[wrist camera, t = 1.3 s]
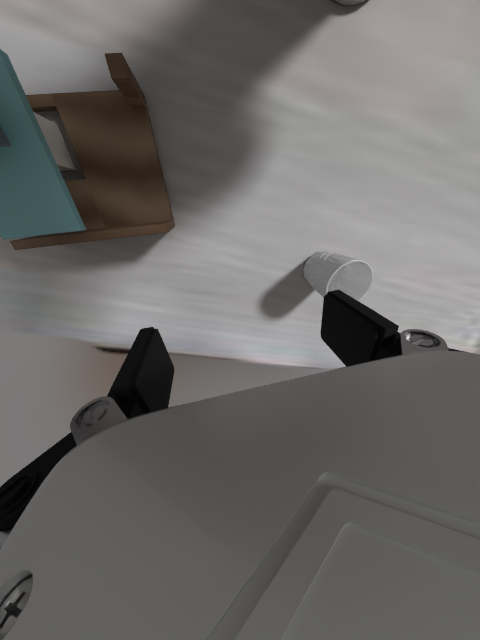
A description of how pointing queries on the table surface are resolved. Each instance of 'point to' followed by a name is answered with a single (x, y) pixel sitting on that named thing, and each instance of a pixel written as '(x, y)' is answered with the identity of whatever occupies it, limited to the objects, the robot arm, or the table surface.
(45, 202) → the cover
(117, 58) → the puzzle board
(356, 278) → the white cup
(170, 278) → the table surface
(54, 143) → the block
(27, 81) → the table surface
